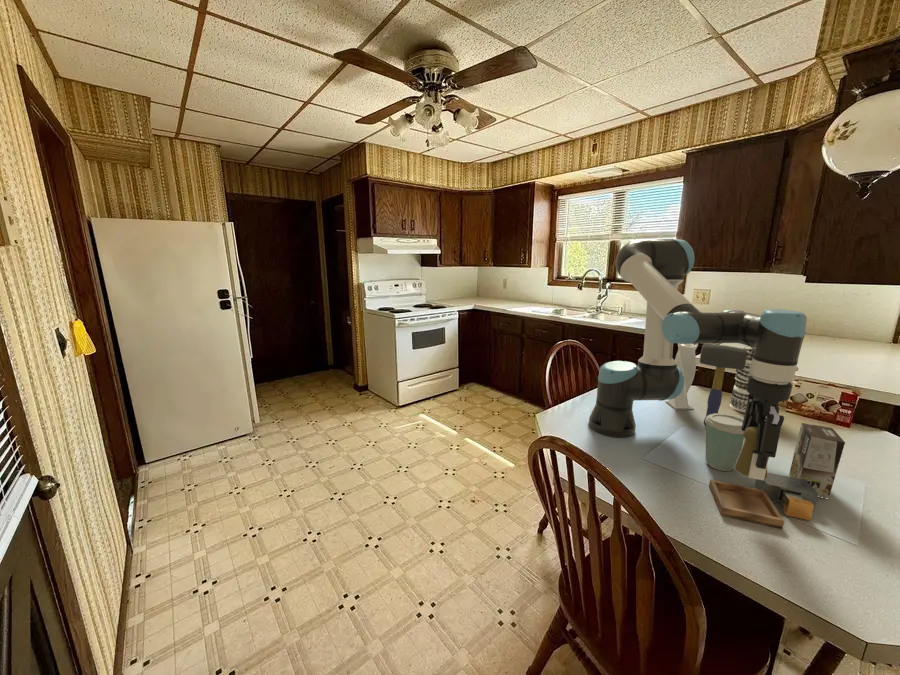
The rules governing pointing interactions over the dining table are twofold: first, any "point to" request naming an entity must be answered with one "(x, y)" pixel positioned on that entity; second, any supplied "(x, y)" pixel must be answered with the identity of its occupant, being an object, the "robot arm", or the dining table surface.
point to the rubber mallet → (720, 369)
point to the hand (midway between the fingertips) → (750, 470)
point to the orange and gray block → (795, 505)
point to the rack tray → (745, 504)
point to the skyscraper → (685, 374)
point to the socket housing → (786, 487)
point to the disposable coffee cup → (723, 440)
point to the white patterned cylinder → (742, 384)
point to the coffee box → (817, 457)
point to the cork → (747, 451)
